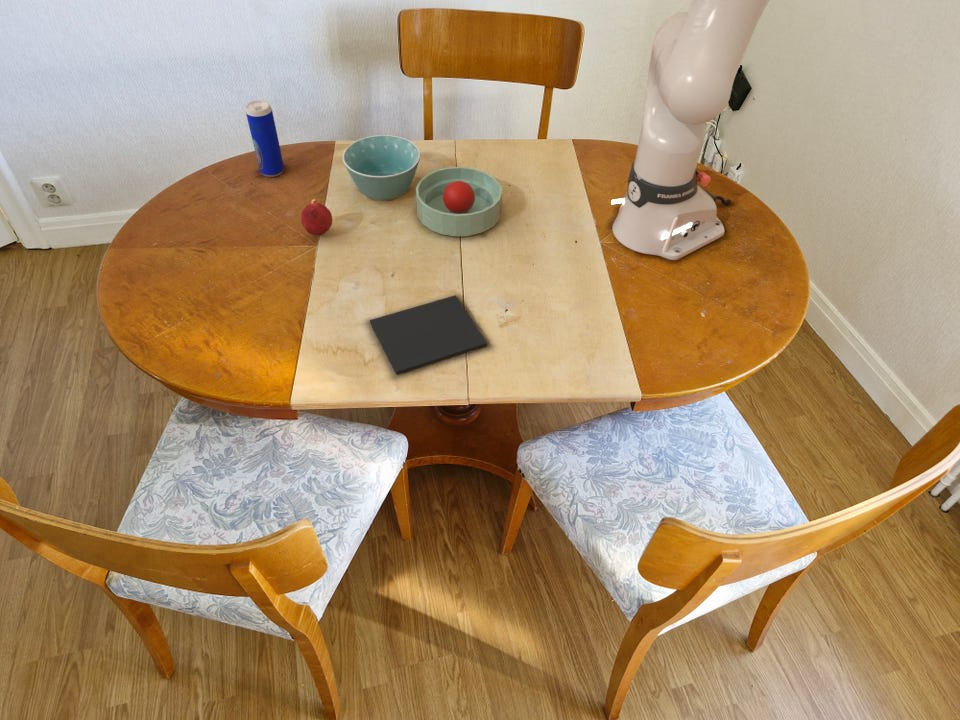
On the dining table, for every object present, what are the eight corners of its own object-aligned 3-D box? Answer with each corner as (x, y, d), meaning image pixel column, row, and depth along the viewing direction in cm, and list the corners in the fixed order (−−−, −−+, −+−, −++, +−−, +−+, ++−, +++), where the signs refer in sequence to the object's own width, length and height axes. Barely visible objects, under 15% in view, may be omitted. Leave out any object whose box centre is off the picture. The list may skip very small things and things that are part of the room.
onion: (328, 246, 132) (322, 211, 127) (300, 241, 133) (292, 207, 127) (338, 228, 136) (333, 193, 130) (310, 224, 137) (304, 189, 131)
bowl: (412, 214, 140) (410, 179, 134) (337, 206, 141) (332, 170, 135) (428, 173, 151) (427, 138, 145) (358, 165, 152) (354, 131, 146)
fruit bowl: (479, 182, 149) (479, 160, 145) (514, 226, 138) (516, 203, 134) (405, 200, 143) (403, 177, 139) (436, 247, 133) (435, 223, 129)
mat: (455, 298, 123) (455, 295, 123) (486, 346, 115) (487, 342, 115) (370, 323, 118) (369, 319, 118) (396, 375, 110) (396, 371, 110)
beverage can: (259, 166, 151) (243, 101, 140) (283, 163, 152) (269, 98, 141) (261, 179, 147) (245, 113, 136) (285, 176, 149) (272, 110, 138)
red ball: (466, 199, 143) (467, 171, 139) (479, 215, 139) (480, 188, 135) (438, 205, 141) (437, 178, 137) (450, 223, 137) (450, 195, 133)
